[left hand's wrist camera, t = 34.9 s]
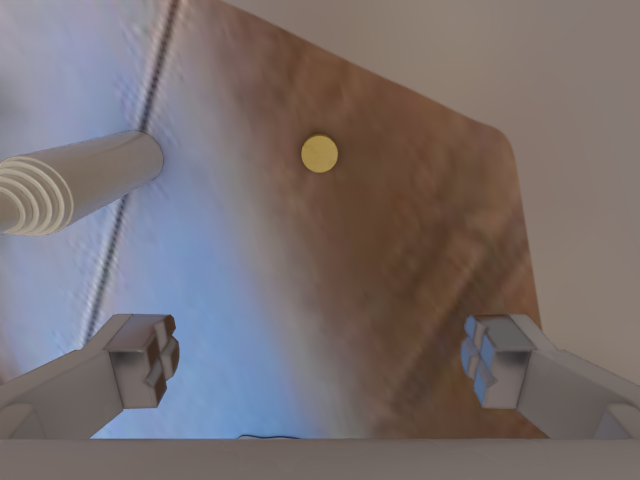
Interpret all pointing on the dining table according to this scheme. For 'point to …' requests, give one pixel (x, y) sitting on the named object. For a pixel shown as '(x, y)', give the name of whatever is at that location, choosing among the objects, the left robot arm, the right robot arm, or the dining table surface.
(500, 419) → the dining table surface
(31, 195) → the bottle
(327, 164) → the cap
